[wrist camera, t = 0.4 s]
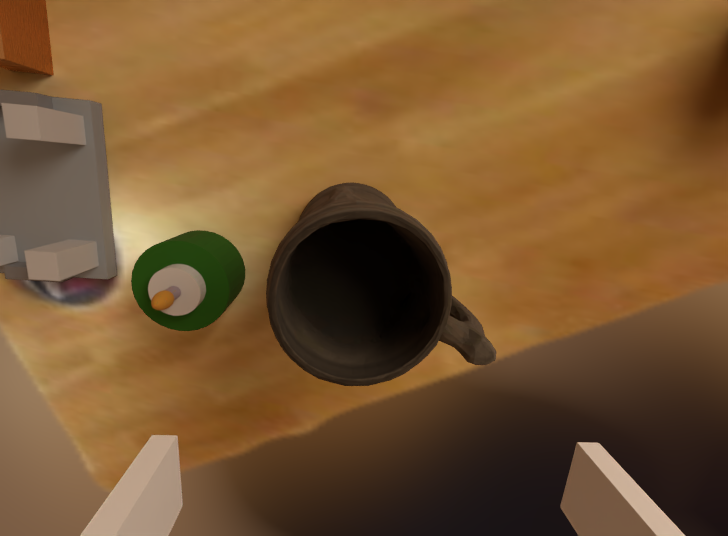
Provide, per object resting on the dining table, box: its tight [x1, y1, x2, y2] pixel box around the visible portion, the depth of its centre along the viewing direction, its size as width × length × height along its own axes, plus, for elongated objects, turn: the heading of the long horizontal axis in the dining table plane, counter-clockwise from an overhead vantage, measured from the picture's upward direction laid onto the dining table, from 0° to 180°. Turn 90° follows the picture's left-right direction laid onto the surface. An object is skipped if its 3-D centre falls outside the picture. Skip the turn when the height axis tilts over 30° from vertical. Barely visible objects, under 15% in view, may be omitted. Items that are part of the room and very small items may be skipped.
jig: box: [0, 90, 117, 282], centre depth 31 cm, size 16×11×6 cm
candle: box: [131, 230, 245, 331], centre depth 32 cm, size 8×8×10 cm
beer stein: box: [266, 183, 496, 386], centre depth 28 cm, size 15×11×20 cm
